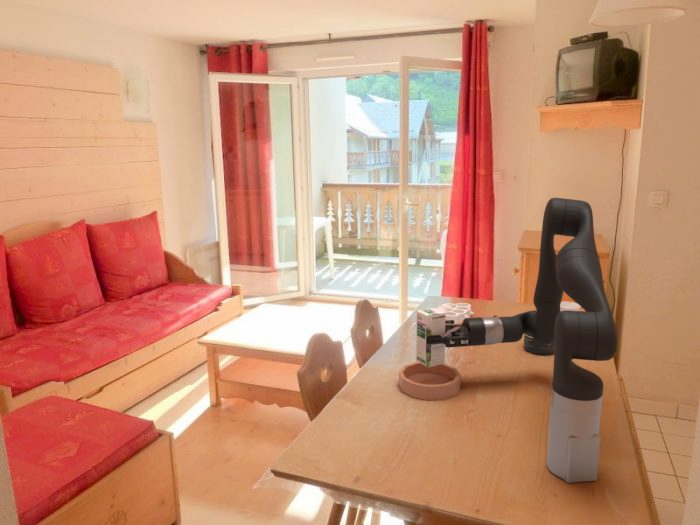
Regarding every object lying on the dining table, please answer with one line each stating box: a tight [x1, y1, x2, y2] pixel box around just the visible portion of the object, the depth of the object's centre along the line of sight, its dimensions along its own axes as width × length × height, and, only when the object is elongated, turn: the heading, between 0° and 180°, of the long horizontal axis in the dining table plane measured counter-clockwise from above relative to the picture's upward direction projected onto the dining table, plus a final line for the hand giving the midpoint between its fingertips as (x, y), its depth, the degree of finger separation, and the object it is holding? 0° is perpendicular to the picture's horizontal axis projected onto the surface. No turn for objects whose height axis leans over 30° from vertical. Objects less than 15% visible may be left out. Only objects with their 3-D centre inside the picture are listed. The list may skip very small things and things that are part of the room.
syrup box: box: [415, 307, 446, 368], centre depth 146 cm, size 6×6×14 cm
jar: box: [523, 333, 554, 356], centre depth 172 cm, size 10×10×8 cm
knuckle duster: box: [434, 302, 475, 324], centre depth 208 cm, size 3×18×15 cm
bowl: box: [398, 361, 461, 401], centre depth 148 cm, size 16×16×4 cm
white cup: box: [560, 301, 582, 311], centre depth 187 cm, size 8×8×10 cm
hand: (422, 334), depth 145 cm, fingers closed on syrup box, 7 cm apart
